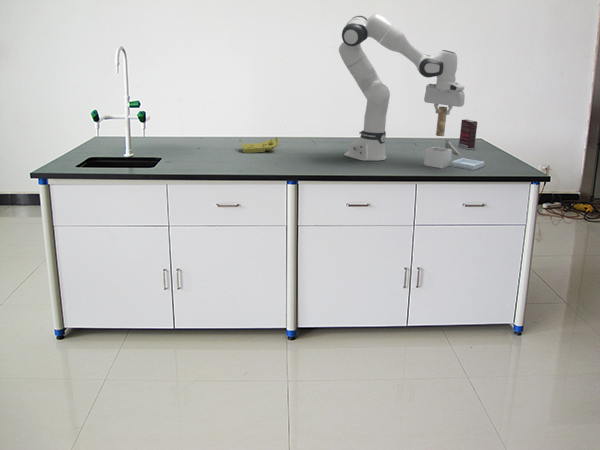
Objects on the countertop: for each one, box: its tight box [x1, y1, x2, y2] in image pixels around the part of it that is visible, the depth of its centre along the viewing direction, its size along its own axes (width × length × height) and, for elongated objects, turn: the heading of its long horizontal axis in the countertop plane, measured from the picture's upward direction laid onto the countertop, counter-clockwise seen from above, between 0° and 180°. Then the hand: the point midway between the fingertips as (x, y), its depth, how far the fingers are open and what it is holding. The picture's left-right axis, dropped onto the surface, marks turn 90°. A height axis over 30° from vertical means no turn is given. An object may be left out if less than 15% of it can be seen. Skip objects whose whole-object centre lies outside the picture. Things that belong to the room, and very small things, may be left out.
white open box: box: [423, 146, 453, 169], centre depth 304 cm, size 10×10×8 cm
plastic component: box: [241, 136, 280, 154], centre depth 326 cm, size 20×7×10 cm
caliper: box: [444, 138, 462, 157], centre depth 335 cm, size 20×1×6 cm, turn 10°
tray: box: [450, 157, 485, 171], centre depth 304 cm, size 12×12×2 cm
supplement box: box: [458, 119, 478, 150], centre depth 346 cm, size 9×5×16 cm, turn 25°
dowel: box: [435, 105, 448, 137], centre depth 298 cm, size 4×4×14 cm
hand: (442, 113), depth 297 cm, fingers closed on dowel, 4 cm apart
